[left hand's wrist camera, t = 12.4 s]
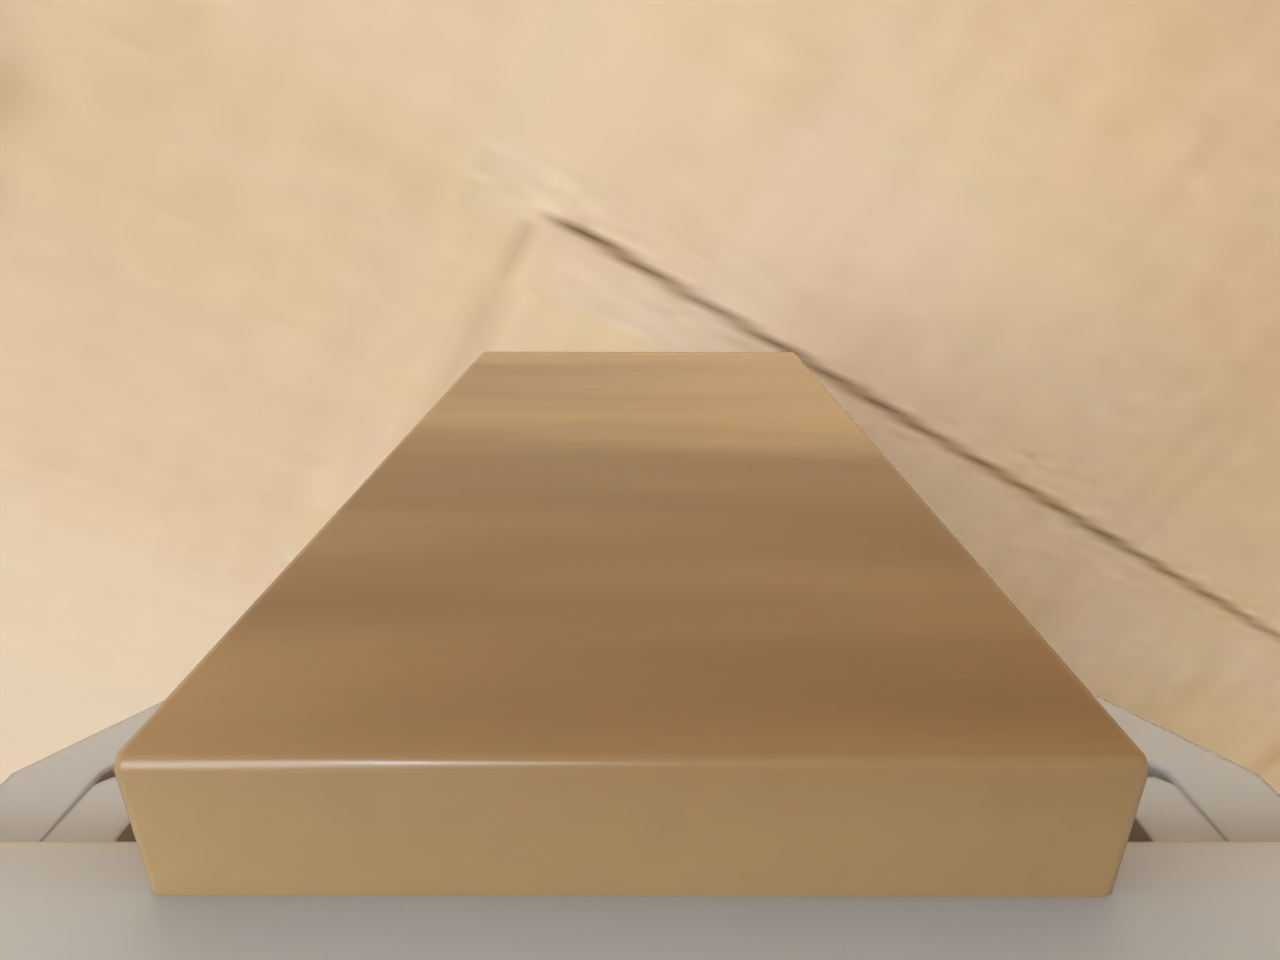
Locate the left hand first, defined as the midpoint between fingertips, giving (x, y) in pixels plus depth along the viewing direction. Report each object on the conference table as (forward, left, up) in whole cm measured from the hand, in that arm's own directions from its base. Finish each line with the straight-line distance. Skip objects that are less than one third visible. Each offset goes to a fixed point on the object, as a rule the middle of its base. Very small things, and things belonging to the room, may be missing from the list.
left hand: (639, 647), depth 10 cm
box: (+10, +1, -6) cm, 11 cm away
